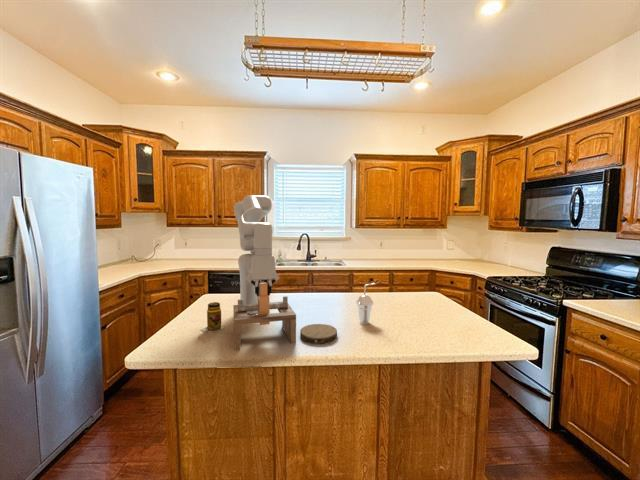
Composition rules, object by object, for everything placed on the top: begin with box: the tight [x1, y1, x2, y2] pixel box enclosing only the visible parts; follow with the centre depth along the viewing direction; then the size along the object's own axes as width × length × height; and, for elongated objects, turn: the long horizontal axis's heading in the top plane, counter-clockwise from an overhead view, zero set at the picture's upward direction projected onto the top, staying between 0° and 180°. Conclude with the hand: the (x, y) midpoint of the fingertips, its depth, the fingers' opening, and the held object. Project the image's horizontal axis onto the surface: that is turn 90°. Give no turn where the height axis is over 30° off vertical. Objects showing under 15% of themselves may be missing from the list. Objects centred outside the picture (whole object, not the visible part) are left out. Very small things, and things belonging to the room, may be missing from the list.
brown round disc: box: [299, 323, 338, 345], centre depth 129 cm, size 16×16×3 cm
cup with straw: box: [355, 282, 377, 325], centre depth 146 cm, size 8×9×20 cm
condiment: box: [200, 301, 225, 334], centre depth 136 cm, size 7×8×12 cm
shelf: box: [232, 295, 297, 351], centre depth 127 cm, size 20×24×17 cm
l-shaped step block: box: [257, 281, 271, 326], centre depth 126 cm, size 8×4×16 cm, turn 18°
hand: (263, 294), depth 126 cm, fingers closed on l-shaped step block, 4 cm apart
